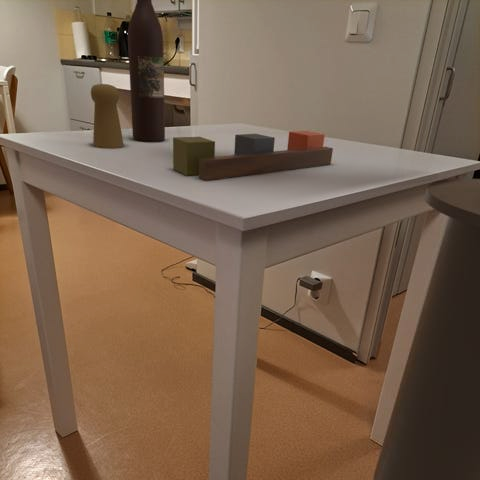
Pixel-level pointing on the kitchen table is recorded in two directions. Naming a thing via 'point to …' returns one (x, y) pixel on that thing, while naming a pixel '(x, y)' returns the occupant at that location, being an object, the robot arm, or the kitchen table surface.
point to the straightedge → (262, 162)
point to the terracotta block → (304, 140)
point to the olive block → (191, 153)
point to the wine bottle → (146, 73)
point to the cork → (106, 117)
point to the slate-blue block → (253, 144)
